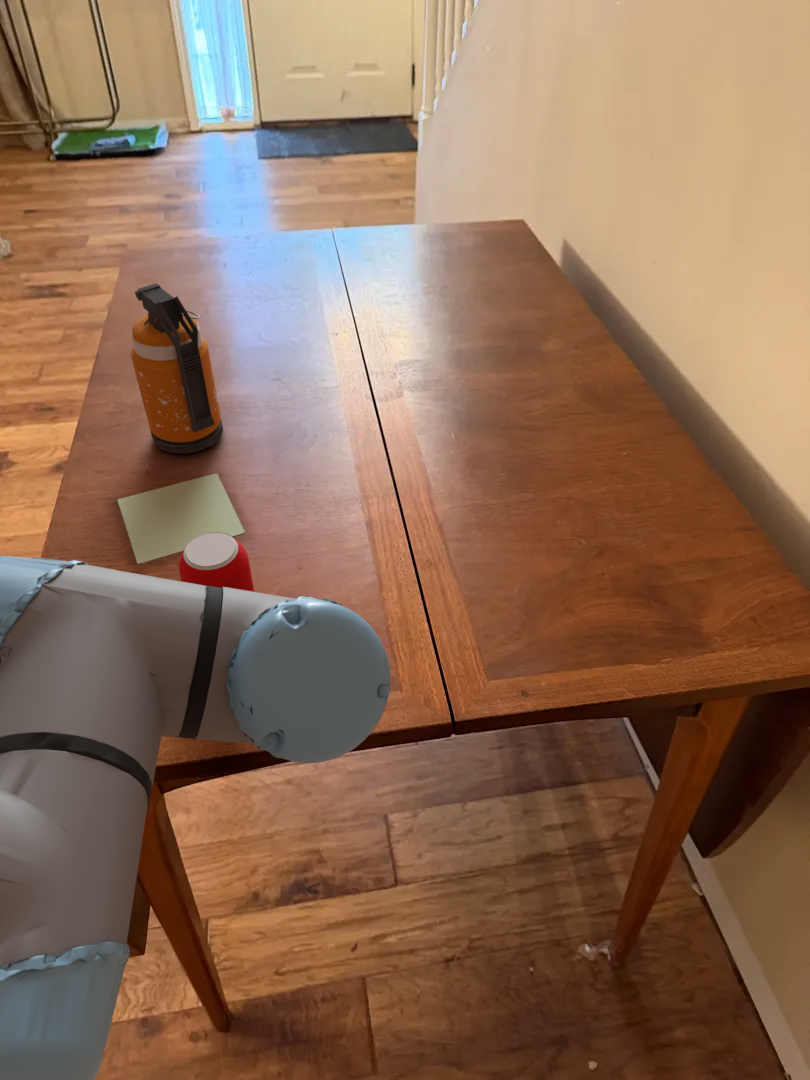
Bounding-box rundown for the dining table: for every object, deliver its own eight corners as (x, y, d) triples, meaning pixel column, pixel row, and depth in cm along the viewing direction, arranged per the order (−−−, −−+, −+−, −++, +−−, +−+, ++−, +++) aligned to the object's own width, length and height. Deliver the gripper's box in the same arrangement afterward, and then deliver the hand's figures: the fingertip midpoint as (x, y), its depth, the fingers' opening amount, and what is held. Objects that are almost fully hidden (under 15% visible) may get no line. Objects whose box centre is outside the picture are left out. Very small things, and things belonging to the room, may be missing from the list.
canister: (202, 409, 106) (174, 267, 92) (245, 447, 99) (221, 300, 86) (141, 433, 101) (102, 287, 88) (181, 474, 95) (146, 324, 82)
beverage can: (193, 662, 74) (168, 574, 66) (205, 614, 79) (182, 525, 70) (257, 662, 74) (240, 573, 66) (265, 613, 79) (250, 525, 70)
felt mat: (137, 564, 84) (137, 564, 84) (117, 499, 92) (117, 499, 92) (245, 533, 88) (245, 532, 88) (216, 473, 96) (216, 473, 95)
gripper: (188, 756, 47) (180, 708, 70) (385, 682, 51) (317, 659, 74) (151, 638, 47) (154, 628, 70) (351, 573, 51) (294, 584, 74)
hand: (238, 644), depth 72 cm, fingers closed
